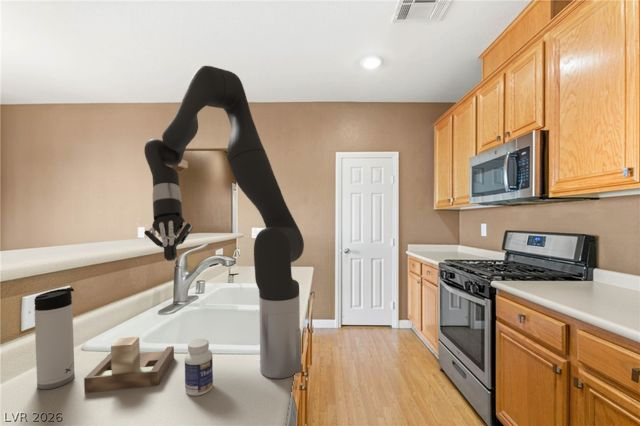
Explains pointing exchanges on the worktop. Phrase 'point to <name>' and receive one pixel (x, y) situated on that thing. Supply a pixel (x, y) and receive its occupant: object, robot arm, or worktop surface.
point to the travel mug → (54, 338)
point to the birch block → (125, 355)
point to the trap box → (147, 375)
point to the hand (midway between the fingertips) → (171, 260)
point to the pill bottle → (198, 368)
